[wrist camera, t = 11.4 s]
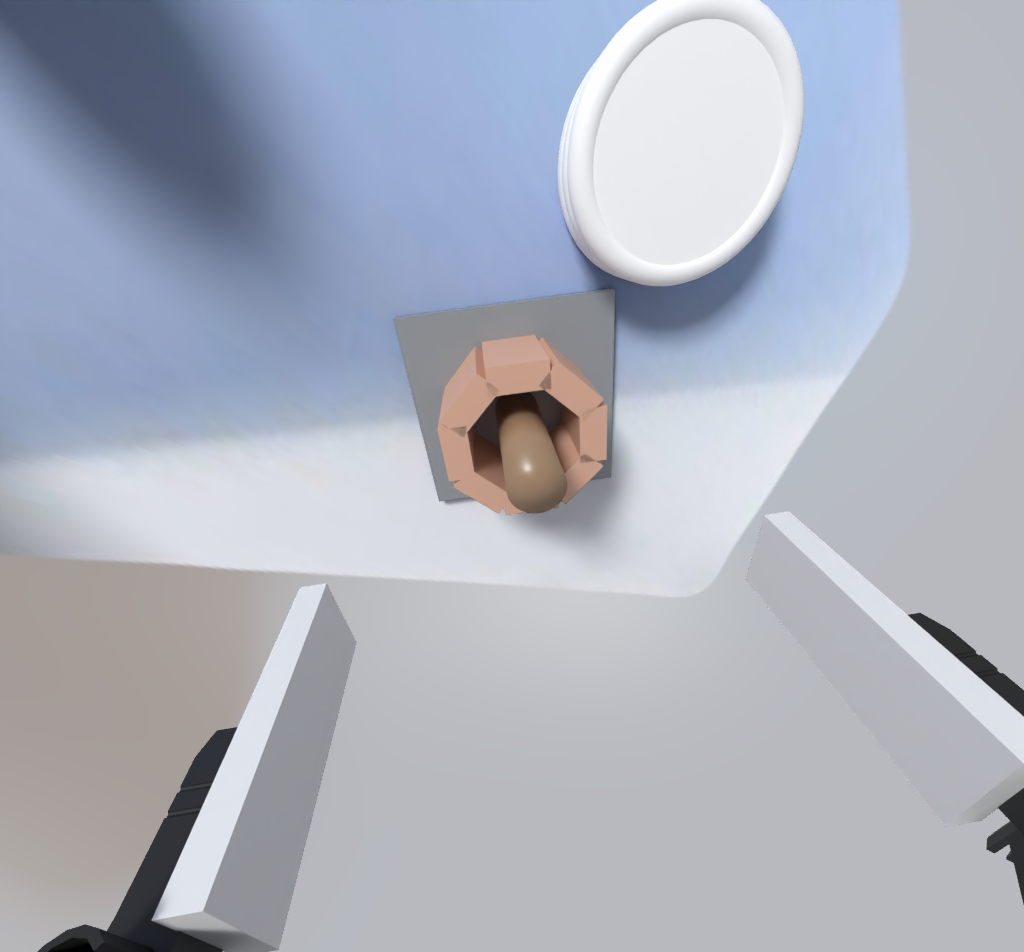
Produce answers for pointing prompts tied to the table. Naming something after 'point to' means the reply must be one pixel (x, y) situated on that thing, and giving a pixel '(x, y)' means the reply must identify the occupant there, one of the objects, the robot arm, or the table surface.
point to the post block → (515, 417)
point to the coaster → (681, 139)
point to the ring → (515, 372)
